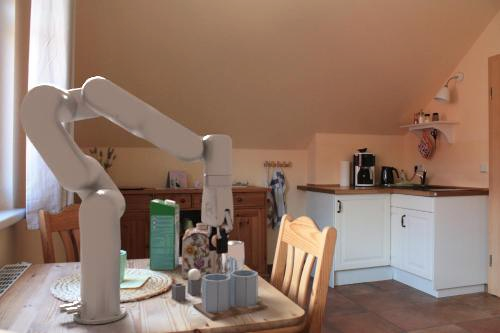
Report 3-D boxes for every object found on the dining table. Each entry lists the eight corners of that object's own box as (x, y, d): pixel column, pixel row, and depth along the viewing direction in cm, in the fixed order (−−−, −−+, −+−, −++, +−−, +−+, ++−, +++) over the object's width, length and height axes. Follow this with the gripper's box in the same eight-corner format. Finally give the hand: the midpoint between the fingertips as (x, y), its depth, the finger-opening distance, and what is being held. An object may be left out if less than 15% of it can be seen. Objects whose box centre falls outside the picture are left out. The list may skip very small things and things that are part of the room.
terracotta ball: (215, 249, 108) (215, 235, 108) (209, 247, 111) (209, 233, 111) (227, 247, 110) (227, 234, 110) (221, 245, 113) (221, 232, 113)
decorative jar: (215, 281, 139) (215, 226, 139) (181, 279, 141) (181, 225, 141) (223, 272, 151) (223, 221, 150) (191, 270, 152) (192, 220, 152)
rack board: (211, 320, 104) (211, 315, 104) (193, 307, 113) (193, 303, 113) (267, 308, 113) (267, 304, 113) (245, 297, 122) (246, 293, 122)
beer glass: (241, 296, 122) (241, 245, 122) (218, 295, 124) (218, 244, 124) (246, 290, 129) (246, 241, 129) (224, 288, 131) (224, 240, 131)
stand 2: (191, 295, 123) (191, 281, 123) (187, 292, 126) (187, 279, 126) (200, 293, 125) (201, 280, 125) (196, 291, 127) (196, 278, 127)
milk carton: (174, 269, 153) (175, 200, 152) (149, 269, 153) (150, 200, 153) (178, 264, 162) (179, 198, 161) (155, 263, 162) (156, 198, 162)
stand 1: (175, 301, 118) (175, 287, 118) (171, 298, 121) (171, 284, 121) (185, 299, 120) (185, 285, 120) (181, 296, 122) (181, 282, 122)
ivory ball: (191, 283, 123) (191, 270, 123) (186, 280, 126) (186, 268, 126) (202, 281, 125) (202, 269, 125) (197, 278, 128) (197, 266, 128)
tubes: (210, 314, 106) (210, 282, 106) (198, 306, 112) (198, 275, 112) (262, 304, 114) (262, 274, 114) (247, 296, 120) (248, 268, 120)
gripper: (191, 181, 116) (191, 248, 116) (220, 183, 102) (220, 259, 102) (216, 180, 120) (216, 245, 120) (246, 182, 106) (246, 256, 106)
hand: (218, 251), depth 111 cm, fingers closed on terracotta ball, 3 cm apart
